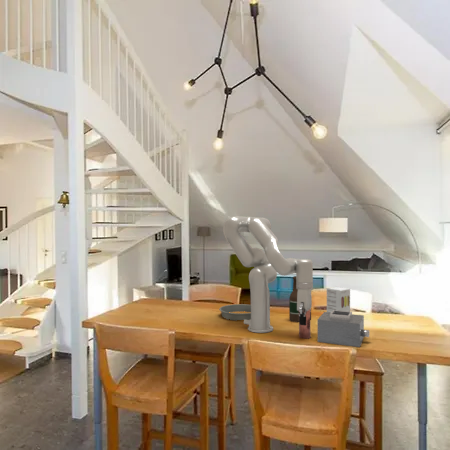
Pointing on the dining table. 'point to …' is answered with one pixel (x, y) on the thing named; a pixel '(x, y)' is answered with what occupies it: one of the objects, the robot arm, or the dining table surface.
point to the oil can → (305, 327)
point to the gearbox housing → (341, 328)
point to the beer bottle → (293, 303)
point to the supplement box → (338, 299)
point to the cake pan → (236, 308)
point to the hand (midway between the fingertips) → (305, 322)
